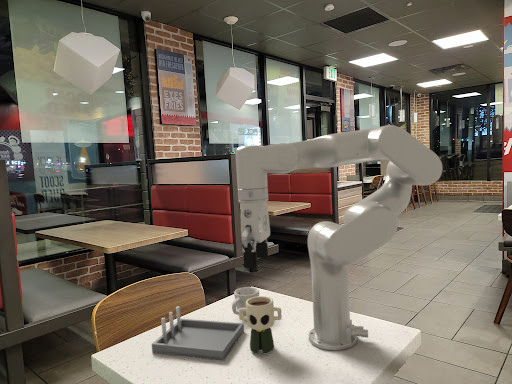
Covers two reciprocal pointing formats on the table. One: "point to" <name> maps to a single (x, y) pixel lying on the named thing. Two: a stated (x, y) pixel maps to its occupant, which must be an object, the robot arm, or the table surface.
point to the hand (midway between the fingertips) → (256, 262)
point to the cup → (243, 298)
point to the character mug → (260, 322)
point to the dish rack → (197, 338)
